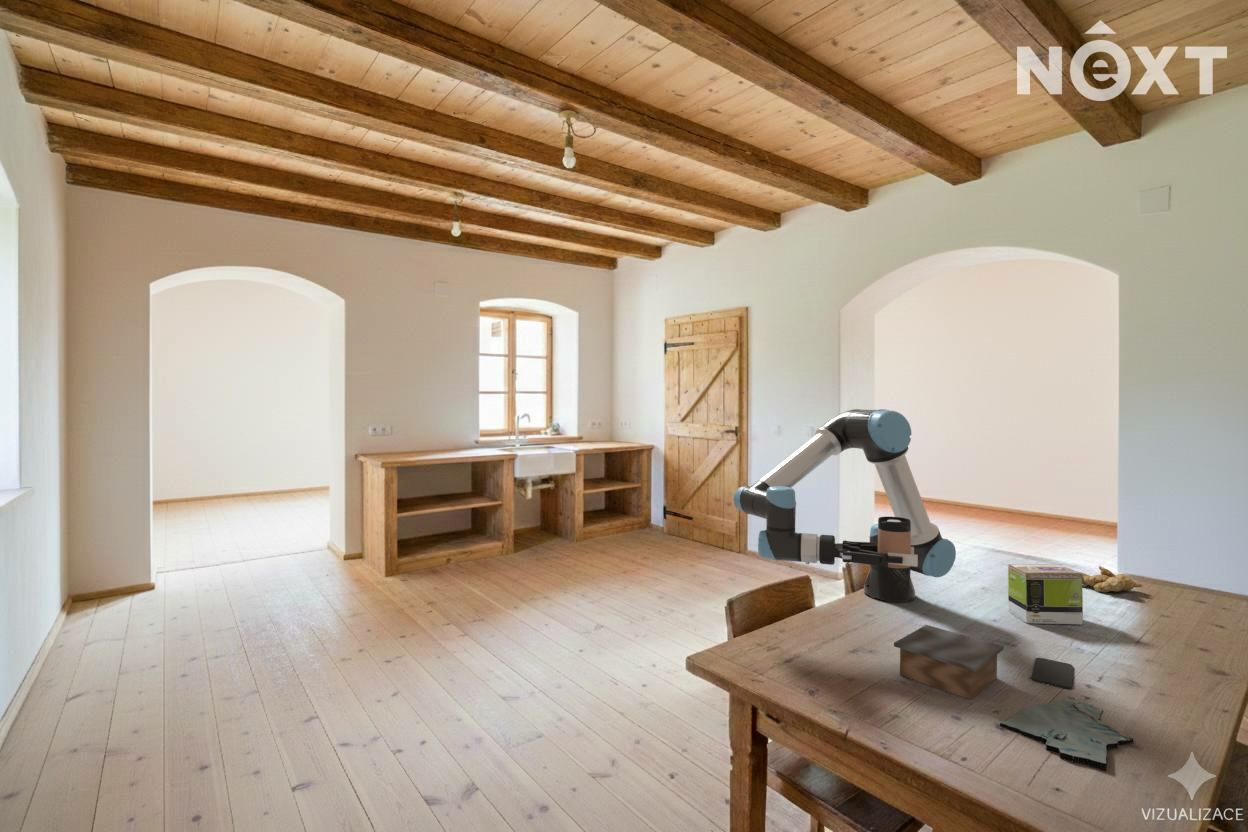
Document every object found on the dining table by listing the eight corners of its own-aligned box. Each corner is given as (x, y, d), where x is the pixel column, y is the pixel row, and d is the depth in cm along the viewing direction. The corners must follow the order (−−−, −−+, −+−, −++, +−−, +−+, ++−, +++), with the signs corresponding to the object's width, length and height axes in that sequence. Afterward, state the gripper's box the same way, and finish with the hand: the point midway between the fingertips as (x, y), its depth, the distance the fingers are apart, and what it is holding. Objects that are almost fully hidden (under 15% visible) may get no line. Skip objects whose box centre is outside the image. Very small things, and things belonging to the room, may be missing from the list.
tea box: (1061, 613, 177) (1061, 563, 177) (1083, 626, 167) (1084, 573, 167) (1006, 611, 179) (1007, 562, 178) (1026, 624, 169) (1026, 572, 168)
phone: (1073, 664, 142) (1072, 688, 130) (1073, 668, 142) (1072, 691, 131) (1035, 656, 147) (1031, 678, 135) (1035, 659, 147) (1031, 682, 135)
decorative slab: (966, 697, 129) (966, 688, 129) (1082, 699, 128) (1082, 689, 128) (1046, 773, 103) (1046, 761, 103) (1193, 776, 102) (1193, 764, 102)
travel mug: (910, 595, 154) (911, 517, 153) (910, 605, 147) (911, 523, 146) (877, 591, 157) (878, 515, 156) (876, 600, 150) (877, 520, 149)
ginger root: (1156, 594, 190) (1149, 569, 190) (1106, 606, 190) (1100, 581, 191) (1116, 581, 206) (1110, 558, 206) (1071, 592, 206) (1065, 569, 206)
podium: (893, 674, 138) (893, 642, 138) (925, 654, 149) (926, 624, 149) (974, 703, 125) (974, 667, 125) (1003, 678, 136) (1003, 645, 136)
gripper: (820, 553, 167) (911, 561, 159) (817, 573, 148) (920, 583, 140) (820, 526, 167) (911, 533, 159) (817, 543, 148) (920, 551, 140)
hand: (915, 556), depth 150 cm, fingers closed on travel mug, 7 cm apart
